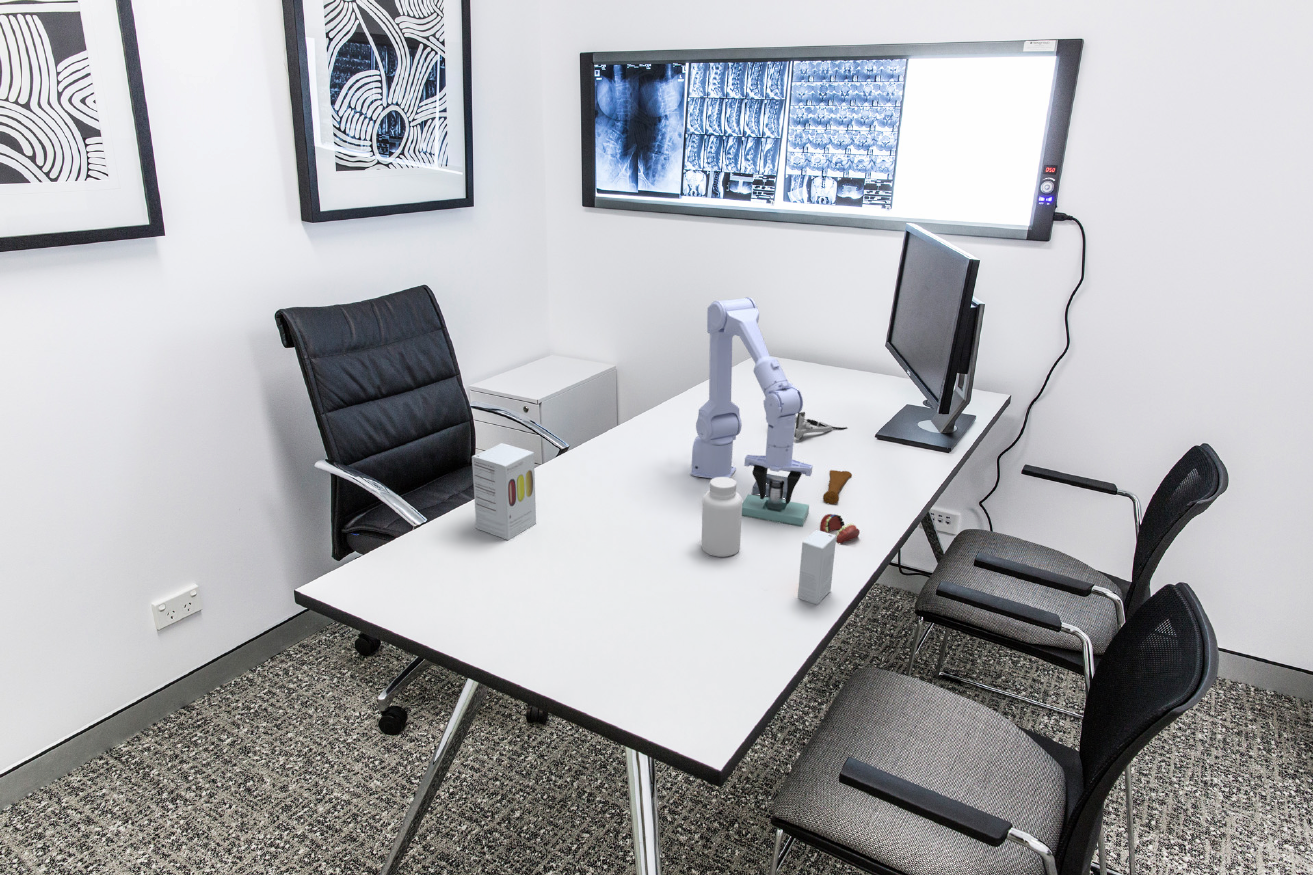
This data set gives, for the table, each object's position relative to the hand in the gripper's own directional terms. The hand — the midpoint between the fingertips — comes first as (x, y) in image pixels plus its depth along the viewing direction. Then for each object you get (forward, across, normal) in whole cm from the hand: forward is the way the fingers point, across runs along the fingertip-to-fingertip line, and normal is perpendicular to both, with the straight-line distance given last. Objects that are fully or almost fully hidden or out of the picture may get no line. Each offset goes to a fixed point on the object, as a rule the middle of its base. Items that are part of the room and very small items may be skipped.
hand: (775, 499), depth 187 cm
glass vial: (+3, 0, 0) cm, 3 cm away
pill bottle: (+4, -7, -19) cm, 21 cm away
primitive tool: (+4, +10, +20) cm, 23 cm away
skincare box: (+4, +14, -29) cm, 33 cm away
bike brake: (+4, -3, +54) cm, 54 cm away
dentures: (+4, +15, -4) cm, 16 cm away
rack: (+4, 0, 0) cm, 4 cm away
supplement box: (+4, -52, -27) cm, 59 cm away
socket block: (+4, -3, +12) cm, 13 cm away
